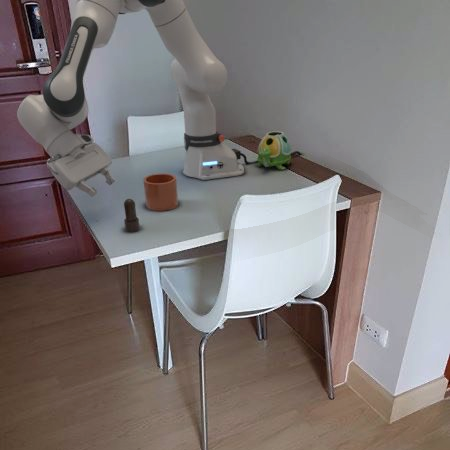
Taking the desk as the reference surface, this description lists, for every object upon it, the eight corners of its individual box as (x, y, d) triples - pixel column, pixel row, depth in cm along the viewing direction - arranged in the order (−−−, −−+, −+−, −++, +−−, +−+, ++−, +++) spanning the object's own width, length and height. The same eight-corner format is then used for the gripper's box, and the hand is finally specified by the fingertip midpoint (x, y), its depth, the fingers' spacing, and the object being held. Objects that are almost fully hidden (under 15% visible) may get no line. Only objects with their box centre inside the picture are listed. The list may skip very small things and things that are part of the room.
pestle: (139, 225, 141) (136, 195, 136) (139, 231, 138) (136, 201, 133) (125, 226, 141) (121, 196, 136) (125, 232, 137) (121, 202, 132)
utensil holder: (177, 198, 159) (175, 172, 154) (179, 209, 151) (177, 182, 146) (146, 200, 158) (143, 174, 153) (146, 212, 150) (143, 185, 145)
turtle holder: (246, 172, 180) (247, 139, 174) (265, 158, 194) (266, 127, 187) (278, 176, 175) (279, 142, 169) (295, 162, 189) (297, 130, 182)
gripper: (48, 153, 123) (88, 194, 125) (93, 133, 139) (127, 170, 141) (37, 169, 127) (76, 209, 129) (82, 148, 143) (116, 183, 145)
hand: (103, 188), depth 135 cm, fingers open, 8 cm apart
